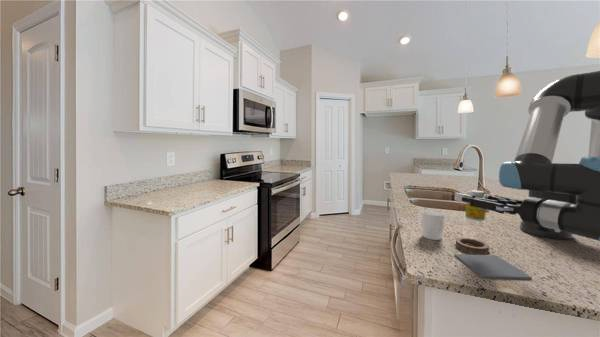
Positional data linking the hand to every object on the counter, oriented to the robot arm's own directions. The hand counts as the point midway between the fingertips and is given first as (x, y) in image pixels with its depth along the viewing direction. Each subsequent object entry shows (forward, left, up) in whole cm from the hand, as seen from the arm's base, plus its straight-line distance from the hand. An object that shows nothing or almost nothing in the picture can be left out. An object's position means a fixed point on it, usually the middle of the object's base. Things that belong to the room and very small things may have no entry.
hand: (461, 195), depth 86 cm
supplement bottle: (-2, +5, -7) cm, 9 cm away
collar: (-3, +3, -18) cm, 19 cm away
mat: (0, +16, -18) cm, 24 cm away
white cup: (+6, -7, -19) cm, 21 cm away
